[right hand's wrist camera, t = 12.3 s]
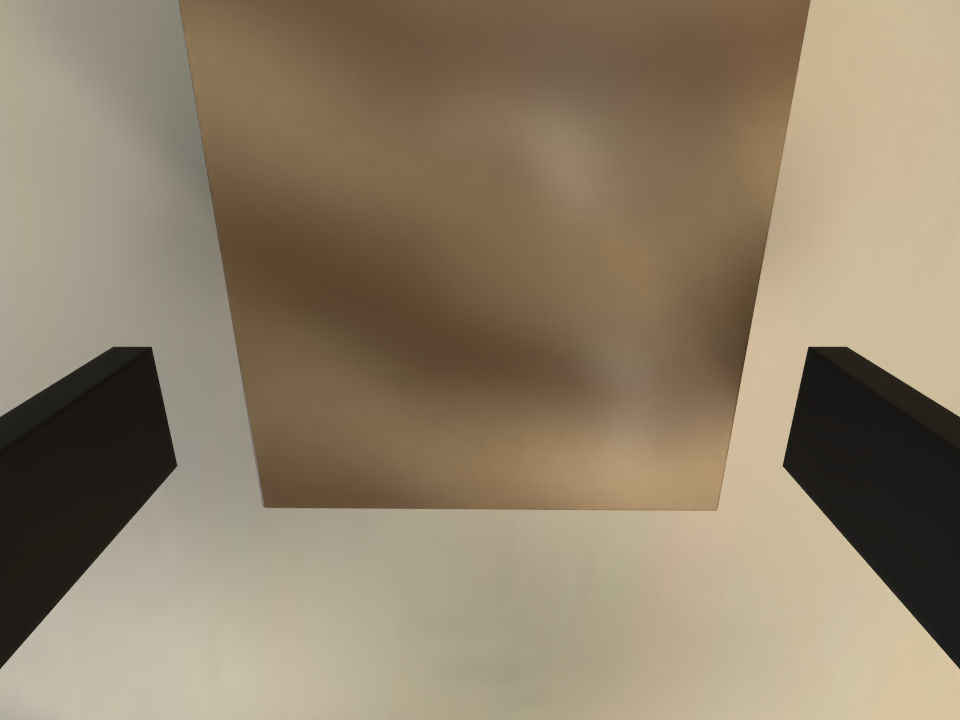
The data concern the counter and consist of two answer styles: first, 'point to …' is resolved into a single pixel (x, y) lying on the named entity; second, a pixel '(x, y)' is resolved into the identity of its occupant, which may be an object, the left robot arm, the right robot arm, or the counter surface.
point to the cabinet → (492, 240)
